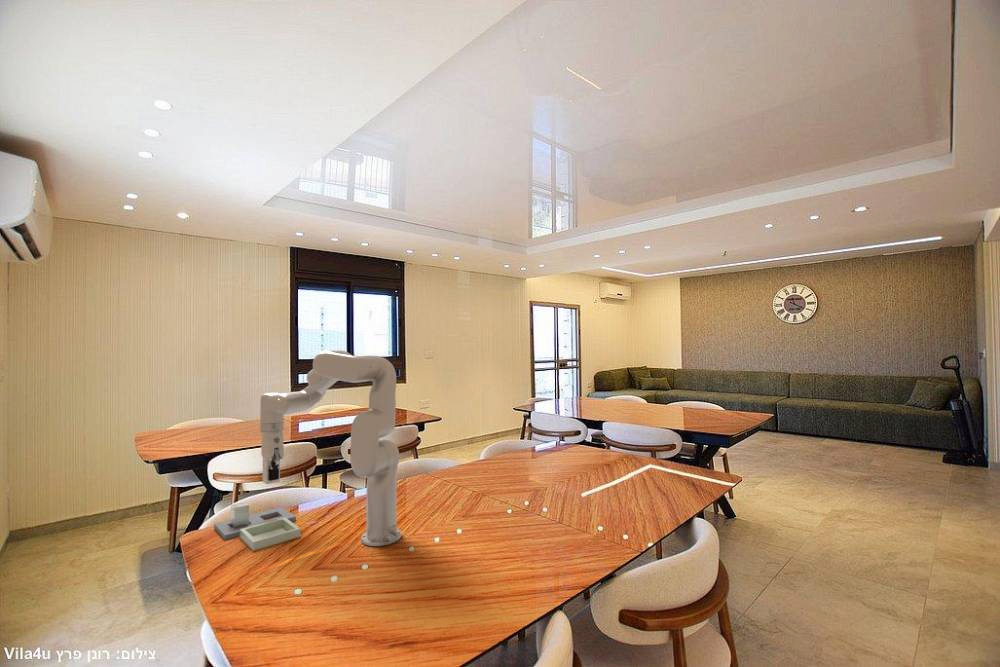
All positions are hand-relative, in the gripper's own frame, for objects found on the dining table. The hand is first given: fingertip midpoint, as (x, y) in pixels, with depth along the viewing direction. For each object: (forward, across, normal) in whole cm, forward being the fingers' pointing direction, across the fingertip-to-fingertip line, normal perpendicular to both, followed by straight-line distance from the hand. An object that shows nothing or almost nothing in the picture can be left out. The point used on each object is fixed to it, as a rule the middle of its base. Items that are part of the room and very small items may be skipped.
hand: (271, 477), depth 157 cm
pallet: (+16, 0, +5) cm, 17 cm away
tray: (+16, -15, +5) cm, 22 cm away
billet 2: (+1, 0, 0) cm, 1 cm away
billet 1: (+16, 0, +10) cm, 19 cm away
